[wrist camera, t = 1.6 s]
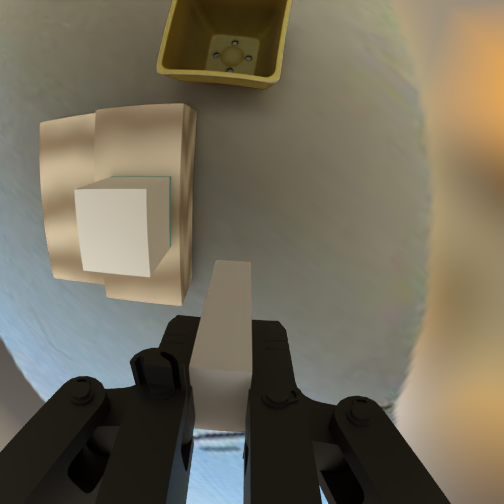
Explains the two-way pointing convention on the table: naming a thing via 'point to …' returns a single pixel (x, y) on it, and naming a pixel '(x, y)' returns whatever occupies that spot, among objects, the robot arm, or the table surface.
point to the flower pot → (225, 41)
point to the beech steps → (120, 164)
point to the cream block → (124, 224)
